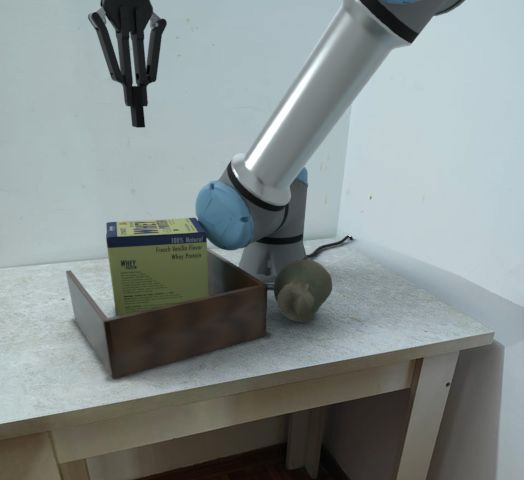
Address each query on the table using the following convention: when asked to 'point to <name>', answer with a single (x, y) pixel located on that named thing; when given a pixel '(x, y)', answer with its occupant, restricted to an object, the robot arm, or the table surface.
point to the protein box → (156, 263)
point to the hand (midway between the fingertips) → (138, 126)
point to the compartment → (175, 321)
